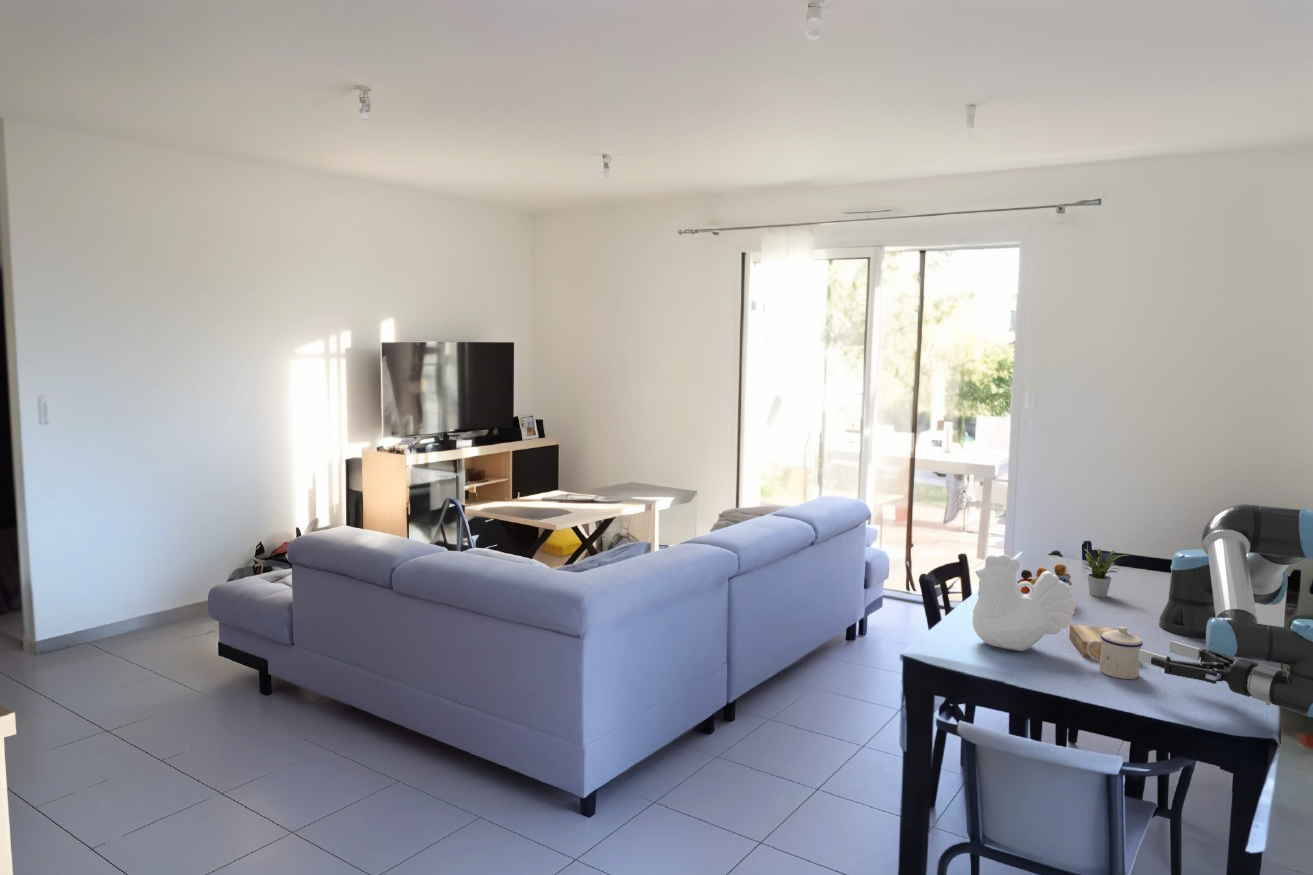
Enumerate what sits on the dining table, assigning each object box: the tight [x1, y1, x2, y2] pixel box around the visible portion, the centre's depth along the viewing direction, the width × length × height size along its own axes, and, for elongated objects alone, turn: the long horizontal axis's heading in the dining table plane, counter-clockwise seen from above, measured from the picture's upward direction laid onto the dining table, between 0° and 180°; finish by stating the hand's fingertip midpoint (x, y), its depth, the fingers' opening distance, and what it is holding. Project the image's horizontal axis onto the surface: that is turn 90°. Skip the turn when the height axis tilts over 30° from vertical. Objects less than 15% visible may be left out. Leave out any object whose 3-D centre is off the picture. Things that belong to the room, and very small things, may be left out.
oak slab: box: [1068, 623, 1118, 659], centre depth 228 cm, size 13×15×4 cm
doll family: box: [1016, 563, 1073, 594], centre depth 268 cm, size 21×10×13 cm, turn 108°
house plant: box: [1081, 547, 1130, 598], centre depth 282 cm, size 14×14×16 cm
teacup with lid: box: [1087, 626, 1144, 680], centre depth 212 cm, size 12×9×12 cm
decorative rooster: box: [972, 553, 1077, 652], centre depth 226 cm, size 25×16×25 cm, turn 66°
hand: (1155, 650), depth 203 cm, fingers open, 13 cm apart
